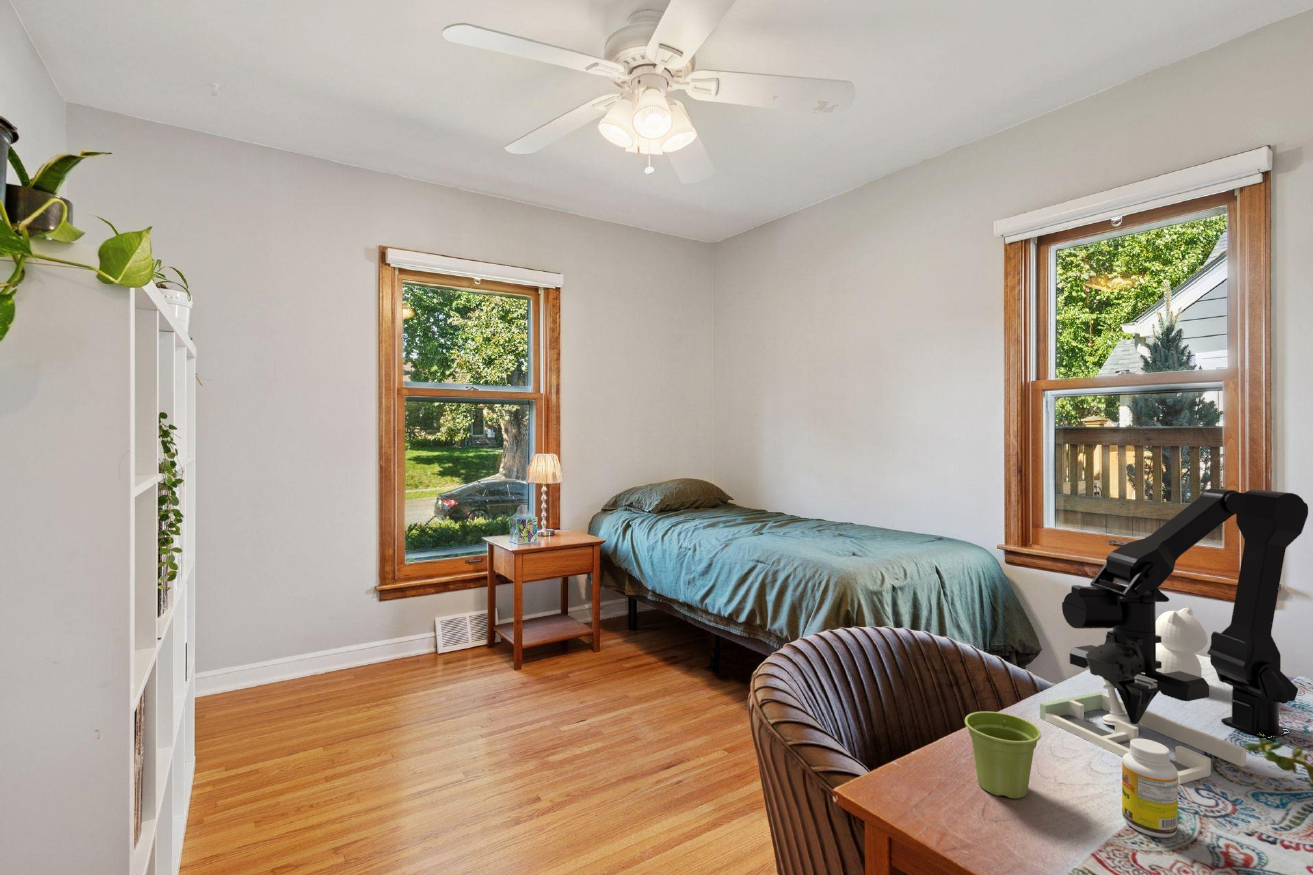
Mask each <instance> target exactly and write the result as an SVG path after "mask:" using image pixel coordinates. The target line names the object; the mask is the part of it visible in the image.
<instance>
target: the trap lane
mask: <svg viewBox="0 0 1313 875" xmlns="http://www.w3.org/2000/svg"><path fill="white" fill-rule="evenodd" d="M1118 700H1119V702H1120V704H1121V707H1122V709H1123V711H1126V709H1125V706H1124V704H1123V702H1122V699H1121V698H1118ZM1101 709H1102V710H1104V711H1107V712H1109V713H1110V711H1111V706H1110V699H1109V693H1105V692H1102V691H1096V692H1092V693H1086V694H1082V695H1076V696H1071V697H1067V698H1066V697H1065V698H1061V699H1057V700H1050V701H1046V702H1040V703H1039V718H1040V719H1042V720H1044V721H1046V722H1048V723H1050V724H1053V725H1054V726H1056V727H1059V728H1061V729H1063V730H1065V731H1067V732H1070V733H1072V734H1073V735H1076V736H1077V737H1080V738H1082V739H1084V740H1086V741H1088V742H1090V743H1093V744H1095V745H1097V746H1099V747H1101V748H1103V749H1105V750H1107V751H1109V752H1111V753H1113V754H1115V755H1118V756H1119V757H1122V758H1123V756H1124V755H1125V754H1126V753H1129V752H1130V750H1129V749H1130V741H1131V740H1132V739H1139V727H1138V726H1135V725H1134V724H1133V725H1130V724H1128V723H1126V722H1123V721H1121V720H1116V721H1115V725H1114V733H1111V731H1107V730H1105V729H1103V728H1101V727H1099V726H1096V725H1094V724H1092V723H1089V722H1087V721H1085V713H1086V712H1091V711H1096V710H1101ZM1125 714H1127V711H1126V712H1125ZM1138 725H1140V726H1142V727H1145V728H1148V729H1150V730H1152V731H1155V732H1157V733H1160V734H1162V735H1164V736H1166V737H1169V738H1171V739H1174V740H1176V741H1178V742H1181V743H1184V744H1185V745H1188V746H1190V747H1193V748H1196V749H1198V750H1200V751H1203V752H1205V753H1207V754H1210V755H1212V756H1214V757H1217V758H1220V759H1222V760H1224V761H1226V762H1229V763H1231V764H1233V765H1237V766H1238V767H1241V768H1242V767H1246V766H1247V749H1246V748H1244V747H1243V746H1240V745H1237V744H1235V743H1233V742H1230V741H1227V740H1224V739H1222V738H1220V737H1217V736H1215V735H1211V734H1209V733H1206V732H1204V731H1201V730H1199V729H1197V728H1193V727H1191V726H1189V725H1186V724H1183V723H1181V722H1178V721H1176V720H1174V719H1171V718H1168V717H1166V716H1164V715H1161V714H1158V713H1155V712H1153V711H1151V710H1148V709H1146V711H1145V712H1144V714H1143V716H1142V718H1141V719H1140V721H1139V723H1138ZM1174 758H1175V760H1173V759H1170V763H1172V764H1173V765H1174V766H1175V767H1176V769H1177V771H1178V785H1182V784H1186V783H1189V782H1190V783H1191V782H1193V781H1196V780H1200V779H1203V778H1206V777H1210V776H1211V774H1212V773H1211V765H1212V764H1211V762H1212V761H1211V758H1210V757H1208V756H1206V755H1204V754H1201V753H1199V752H1196V751H1194V750H1192V749H1189V748H1187V747H1184V746H1182V745H1177V746H1175V757H1174Z"/></svg>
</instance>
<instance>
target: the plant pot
mask: <svg viewBox="0 0 1313 875" xmlns="http://www.w3.org/2000/svg"><path fill="white" fill-rule="evenodd" d="M964 724H965V726H966V728H967V729H968V733H969V736H970V738H971V742H972V750H973V757H974V763H975V770H976V778H977V781H978V785H979V786H980V787H981V789H983V790H985V791H987V793H988V792H989V794H992V795H995V796H1006V797H1008V798H1009V799H1019V798H1020V799H1021V798H1023V797H1025V796H1027V795H1028V791H1029V784H1030V777H1031V771H1032V764H1033V757H1034V754H1035V752H1034V751H1035V749H1036V747H1037V744H1038V741H1039V740H1040V739H1041V737H1042V732H1041V730H1040V729H1039V727H1037V726H1036V725H1035V724H1034V723H1032V722H1030V720H1026V719H1025V718H1022V717H1018V716H1016V715H1013V714H1008V713H1004V712H998V711H975V712H971V713H969V714H967V715H966V716H965V718H964Z"/></svg>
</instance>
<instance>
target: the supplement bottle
mask: <svg viewBox="0 0 1313 875" xmlns="http://www.w3.org/2000/svg"><path fill="white" fill-rule="evenodd" d="M1129 750H1130V752H1129V753H1126V754H1125V755H1124V756H1123V757H1122V760H1121V763H1122V764H1121V772H1122V776H1121V781H1122V782H1121V791H1122V792H1121V797H1122V798H1121V815H1122V817H1123V819H1124V821H1125V823H1126V824H1128V825H1129V826H1130V827H1131V828H1133V829H1135V830H1136V831H1137V832H1139V833H1142V834H1145V835H1148V836H1151V837H1156V838H1172V837H1173V836H1175V835H1176V834H1177V832H1178V810H1179V809H1178V806H1179V804H1178V802H1179V801H1178V799H1179V798H1178V797H1179V796H1178V794H1179V793H1178V792H1179V791H1178V790H1179V786H1178V785H1179V783H1178V771H1177V769H1176V767H1175V766H1174V765H1173V764H1172V763H1170V760H1171V758H1170V753H1171V752H1170V749H1169V748H1168V747H1167V746H1166V745H1163V744H1162V743H1160V742H1157V741H1154V740H1151V739H1147V738H1145V739H1144V738H1138V739H1132V740H1131V741H1130V749H1129Z"/></svg>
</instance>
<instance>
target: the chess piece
mask: <svg viewBox="0 0 1313 875" xmlns="http://www.w3.org/2000/svg"><path fill="white" fill-rule="evenodd" d="M1101 678H1102V679H1103V681H1104V682H1105V684H1104V685H1103V686H1102V687H1103V689H1104V690H1105V689H1106V690H1107V692H1108V693H1107V694H1108V695H1109V699H1110V706H1111V711H1110V712H1109V714H1106V715H1104V716H1103V717H1102V723H1103V724H1105V725H1108V726H1109V725H1110V726H1115V721H1116V720H1121V721H1123V722H1126V723H1128V724H1130V725H1133V726H1134V724H1132V723H1131V721H1130V719H1129V716H1128V714H1125V712H1126V711H1123V709H1122V707H1121V704H1120V702H1119V700H1118V699H1119V698H1118V695H1117V693H1116V688H1115V687H1114V686H1113V685H1112V684H1111V683H1110V682H1109V681H1107V680H1105V679H1104V678H1103V677H1101Z"/></svg>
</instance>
